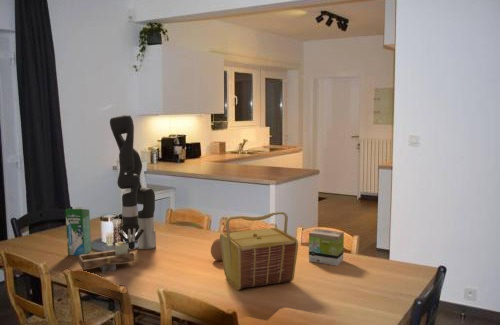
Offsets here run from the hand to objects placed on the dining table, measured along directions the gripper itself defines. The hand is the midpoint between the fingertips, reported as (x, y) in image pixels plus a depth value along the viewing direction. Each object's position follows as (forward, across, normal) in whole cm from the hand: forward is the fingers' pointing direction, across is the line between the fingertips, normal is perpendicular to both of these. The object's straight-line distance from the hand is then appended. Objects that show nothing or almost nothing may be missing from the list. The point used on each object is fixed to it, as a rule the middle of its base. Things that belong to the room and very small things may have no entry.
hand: (131, 248), depth 239 cm
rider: (+3, +5, 0) cm, 6 cm away
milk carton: (+8, +20, -32) cm, 39 cm away
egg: (+8, -40, +17) cm, 44 cm away
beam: (+8, +12, 0) cm, 14 cm away
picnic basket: (+8, -43, +51) cm, 67 cm away
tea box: (+8, -85, +45) cm, 97 cm away
